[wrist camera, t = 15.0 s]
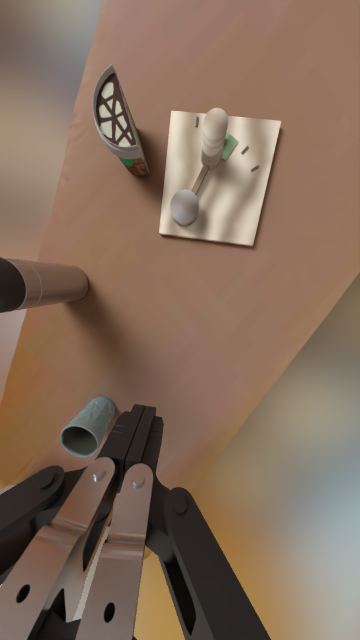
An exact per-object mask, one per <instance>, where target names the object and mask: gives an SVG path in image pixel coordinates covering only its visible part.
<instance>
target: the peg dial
mask: <svg viewBox="0 0 360 640" xmlns="http://www.w3.org/2000/svg"><path fill="white" fill-rule="evenodd" d="M227 127H228V117H227V114H226V113H225V111H224V110H222V109H220V108H214V109H212V110H210V111H209V112H208V113H207V114H206V116H205V118H204V122H203V137H202V155H201V162H202V165H203V167H202V169H201V171H200V173H199V175H198V177H197V179H196V182H195V184H194V186H193V188H192V190H191V191H190V190H186V189H184V190H180V191H178V192H177V193H175V194H174V196H173V197H172V199H171V202H170V210H171V213H172V216H173V219H174V221H175V222H176V223H177V224H178V225H180V226H189V225H191V224H193V223H194V222H195V220H196V219H197V217H198V211H199V202H198V198H197V196H196V194H197V192H198V190H199V188H200V186H201V184H202V182H203V180H204V178H205V176H206V174H207V172H208V170H213V169H215V168H216V167H217V166H218V165H219V163H220V160H221V155H222V150H223V146H224V141H225V136H226V131H227Z"/></svg>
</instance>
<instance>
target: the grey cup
mask: <svg viewBox="0 0 360 640" xmlns="http://www.w3.org/2000/svg"><path fill="white" fill-rule="evenodd" d="M115 410H116V408H115V405H114V403H113V402H112V401H111V400H110V399H109V398H107V397H103V396H98V397H96V398H94V399H92V400H91V402H90V403H89V404H88V405H87V406H86V408H84V409H83V410H82V411H81V412H80V413H79V414H78V415H77V416H76V417H75V418H74V419H73V420H72V421H71V422H70V423H69V424H68V425H67V426H66V427H65V428H64V429H63V430H62V432H61V434H60V442H61V444H62V446H63V448H64V449H65V450H66V451H67V452H68V453H70V454H72V455H74V456H76V457H82V458H85V457H90V456H92V455H94V454H95V453H96V452H97V450H98V448H99V446H100V444H101V442H102V439H103V437H104V435H105V432H106V431H107V429H108V426H109V423H110V422H111V420H112V418H113V416H114V414H115Z"/></svg>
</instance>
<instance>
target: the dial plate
mask: <svg viewBox="0 0 360 640" xmlns="http://www.w3.org/2000/svg"><path fill="white" fill-rule="evenodd" d="M205 116H206V114H201V113H190V112H180V111H171V121H170V130H169V140H168V150H167V160H166V170H165V180H164V190H163V200H162V209H161V219H160V229H159V233H160V234H161V235H169V236H176V237H184V238H192V239H199V240H207V241H214V242H222V243H229V244H237V245H245V246H253V243H254V239H255V234H256V230H257V225H258V221H259V217H260V212H261V208H262V203H263V199H264V194H265V190H266V186H267V181H268V177H269V172H270V168H271V164H272V159H273V155H274V150H275V146H276V142H277V137H278V133H279V128H280V124H281V121H275V120H265V119H254V118H244V117H233V116H227V117H228V127H227V131H226V136H225V141H224V146H223V150H222V155H221V160H220V163H219V165H218V166H217V167H216V168H215V169H213V170H208V172H207V174H206V176H205V178H204V180H203V182H202V184H201V186H200V188H199V190H198V192H197V194H196V196H197V198H198V202H199V211H198V217H197V219H196V220H195V222H194V223H193V224H191V225H189V226H180V225H178V224H177V223H176V222H175V221H174V219H173V216H172V213H171V210H170V202H171V199H172V197H173V196H174V194H175V193H177V192H178V191H180V190H184V189H186V190H190V191H191V190H192V188H193V186H194V184H195V182H196V179H197V177H198V175H199V173H200V171H201V169H202V167H203V165H202V162H201V155H202V137H203V122H204V118H205Z"/></svg>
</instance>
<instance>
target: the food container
mask: <svg viewBox="0 0 360 640" xmlns="http://www.w3.org/2000/svg"><path fill="white" fill-rule="evenodd" d="M92 104H93V115H94V120H95V124H96V127H97V129H98V132H99V135H100V137H101V139H102V141H103V143H104V144H105V146H106V147H107V148H108V149H109V150H110V151H111V152H112V153H113V154H115V155H116V156H118V157H119V158H120V160H121V161H122V163H123V164H124V165H125V167H126V168H127V169H128V170H129V171H130V172H131V173H132V174H134V175H136V176H142V177H143V176H148V175H150V173H149V170H148V167H147V163H146V160H145V156H144V153H143V150H142V146H141V143H140V140H139V136H138V133H137V129H136V126H135V124H134V121H133V118H132V115H131V113H130V110H129V107H128V105H127V102H126V99H125V97H124V94H123V91H122V89H121V86H120V83H119V80H118V78H117V74H116V72H115V69H114V67H113V64H112V65H110V66H109V67H107V68H106V69H105V70H104V71H103V73H102V74H101V75H100V77H99V79H98V81H97V83H96V86H95V88H94V93H93V101H92Z"/></svg>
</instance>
